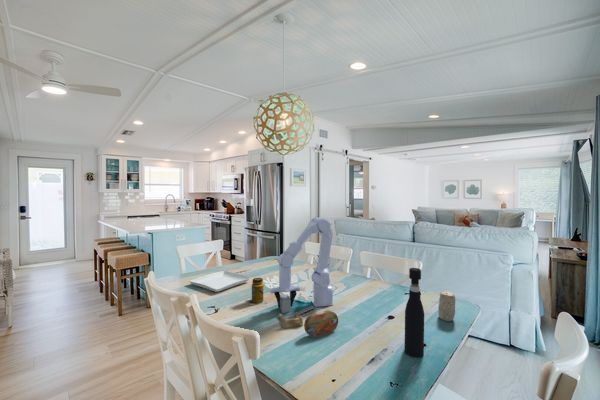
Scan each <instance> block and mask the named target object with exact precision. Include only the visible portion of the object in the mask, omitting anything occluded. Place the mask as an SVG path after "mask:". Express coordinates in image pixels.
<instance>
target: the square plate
mask: <svg viewBox="0 0 600 400" xmlns="http://www.w3.org/2000/svg"><path fill="white" fill-rule="evenodd" d="M250 279H252V277H251V276H248V275H244V274H241V273H236V272H232V271H228V270H221V271H217V272H213V273H210V274H206V275H202V276H200V277H196V278H193V279H190V280H188V283H190V284H192V285H193V286H196V287H201V288H204V289H207V290H209V291H212V292H216V293H219V292H221V291H224V290H227V289H231V288H234V287H236V286H239V285H241V284H243V283H247V282H248V281H249V280H250Z"/></svg>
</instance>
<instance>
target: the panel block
mask: <svg viewBox="0 0 600 400" xmlns="http://www.w3.org/2000/svg"><path fill="white" fill-rule="evenodd" d="M291 308H292V307H291V300H290V295H289V294H280V308H279V309H280V311H281V314H285V313H291V310H292V309H291Z"/></svg>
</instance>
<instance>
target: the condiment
mask: <svg viewBox="0 0 600 400" xmlns="http://www.w3.org/2000/svg"><path fill="white" fill-rule="evenodd" d="M263 280H264V279H263V278H261V277H253V278H252V284H251V299H249V300H247V299H246V300H245V302H246V303H247V304H249V306H255V305H260V304H261V305H262V304H264V303H267V301H265V300H264V281H263Z"/></svg>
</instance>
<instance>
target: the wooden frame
mask: <svg viewBox="0 0 600 400" xmlns="http://www.w3.org/2000/svg"><path fill="white" fill-rule="evenodd" d="M277 316H278V318H279V319H280V322H281V325H282V328H283V329H286V328H287V329H288V328H295V327H302V326H303V327H304V323H303V322H304V317H303V316H301V315H299V312H297V311H296V312H294V318H286V317H284V316H283V313H279V314H277Z"/></svg>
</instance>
